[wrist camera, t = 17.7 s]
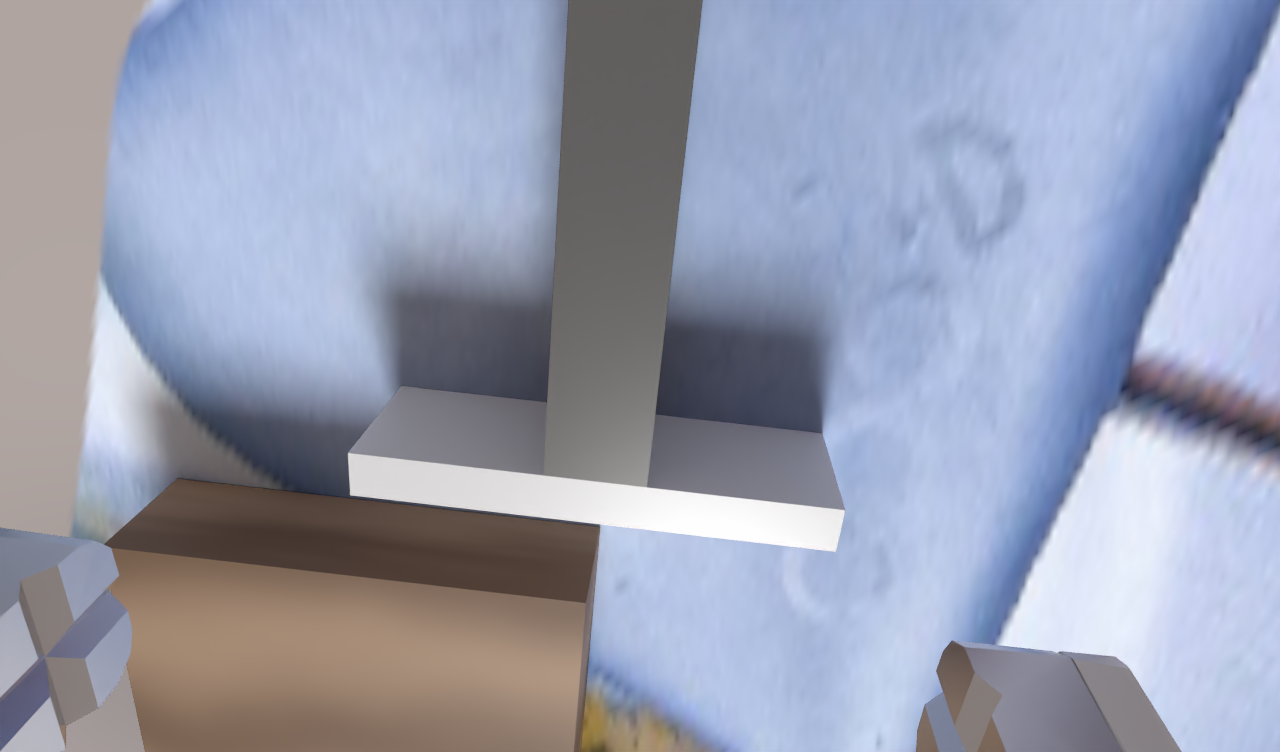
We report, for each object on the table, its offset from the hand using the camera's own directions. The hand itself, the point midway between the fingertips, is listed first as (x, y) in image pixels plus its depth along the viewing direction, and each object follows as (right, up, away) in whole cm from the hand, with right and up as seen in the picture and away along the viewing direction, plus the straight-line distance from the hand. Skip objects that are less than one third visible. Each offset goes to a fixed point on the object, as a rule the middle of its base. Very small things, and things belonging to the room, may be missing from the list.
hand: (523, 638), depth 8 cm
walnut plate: (-7, -7, +19) cm, 22 cm away
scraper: (+1, +8, +12) cm, 15 cm away
